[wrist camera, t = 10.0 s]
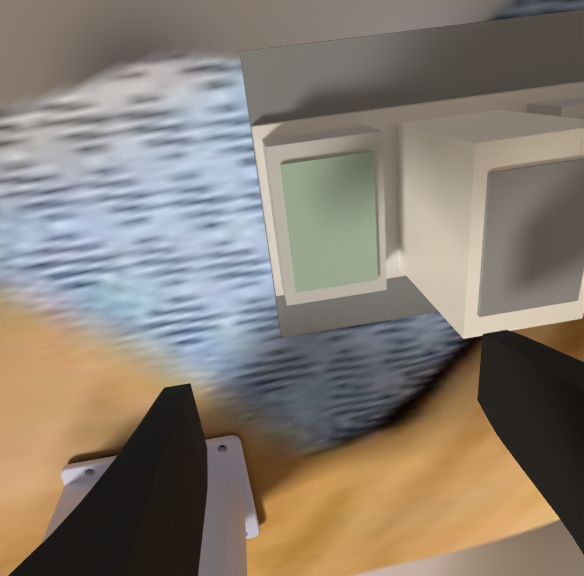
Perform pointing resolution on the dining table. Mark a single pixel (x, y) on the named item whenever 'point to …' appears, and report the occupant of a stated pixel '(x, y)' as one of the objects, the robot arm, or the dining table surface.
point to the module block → (494, 218)
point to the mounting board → (396, 83)
